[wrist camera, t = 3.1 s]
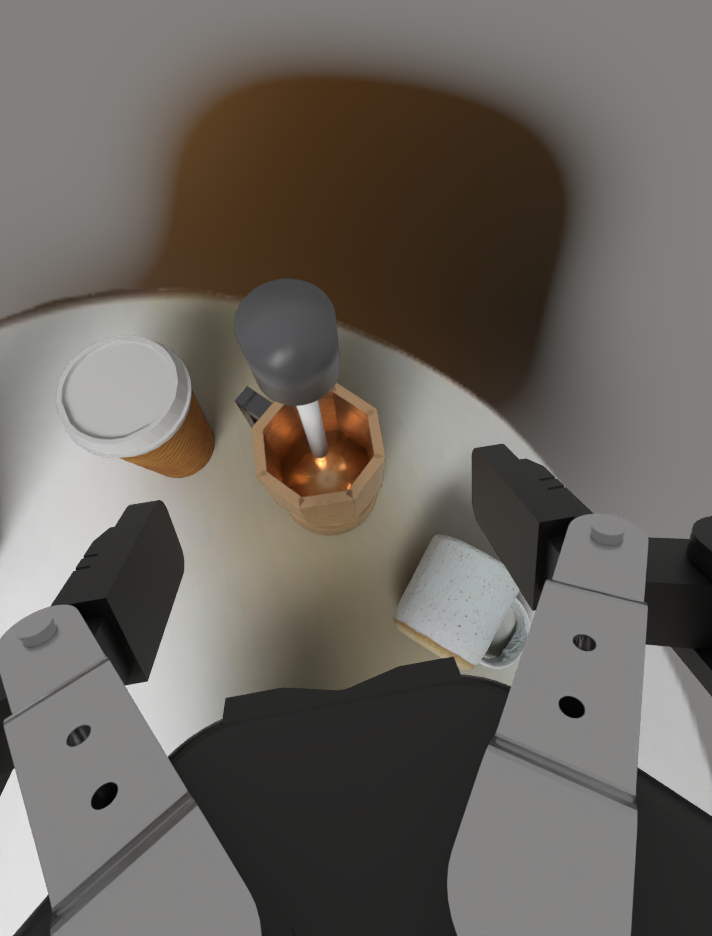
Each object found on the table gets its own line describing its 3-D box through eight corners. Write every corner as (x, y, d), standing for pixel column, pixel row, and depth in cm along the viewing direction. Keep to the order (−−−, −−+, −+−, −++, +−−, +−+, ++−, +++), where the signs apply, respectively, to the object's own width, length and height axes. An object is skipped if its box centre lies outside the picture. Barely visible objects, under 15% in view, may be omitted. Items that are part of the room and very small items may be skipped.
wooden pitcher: (241, 481, 43) (196, 433, 31) (298, 412, 45) (276, 343, 33) (339, 554, 41) (330, 531, 29) (395, 478, 43) (407, 428, 31)
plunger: (279, 456, 32) (213, 331, 18) (314, 413, 33) (277, 262, 19) (325, 488, 32) (293, 385, 17) (359, 444, 33) (356, 310, 18)
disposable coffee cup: (252, 440, 44) (212, 379, 33) (179, 515, 42) (109, 479, 31) (183, 383, 46) (123, 306, 35) (110, 452, 44) (21, 395, 32)
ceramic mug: (384, 624, 39) (390, 627, 32) (428, 539, 41) (444, 523, 34) (499, 692, 37) (534, 713, 30) (539, 600, 39) (581, 598, 32)
